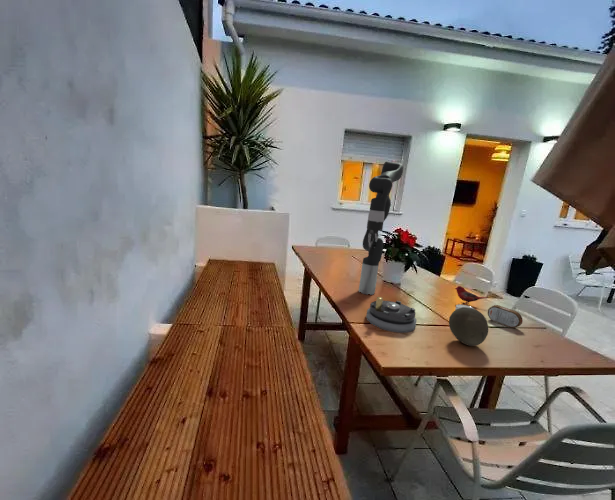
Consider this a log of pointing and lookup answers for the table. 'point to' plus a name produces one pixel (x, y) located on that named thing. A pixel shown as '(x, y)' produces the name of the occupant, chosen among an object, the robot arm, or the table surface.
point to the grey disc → (392, 311)
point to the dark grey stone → (468, 326)
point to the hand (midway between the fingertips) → (370, 255)
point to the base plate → (390, 324)
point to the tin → (505, 316)
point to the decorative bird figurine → (467, 295)
